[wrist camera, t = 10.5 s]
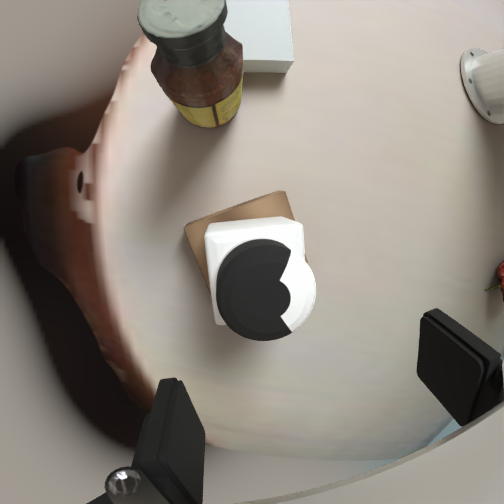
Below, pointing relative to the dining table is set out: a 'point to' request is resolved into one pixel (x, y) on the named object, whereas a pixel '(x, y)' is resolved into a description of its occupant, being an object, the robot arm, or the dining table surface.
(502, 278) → the pomegranate
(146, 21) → the sauce bottle
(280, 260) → the medicine bottle
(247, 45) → the grey block
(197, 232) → the walnut block
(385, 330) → the dining table surface
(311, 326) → the dining table surface
